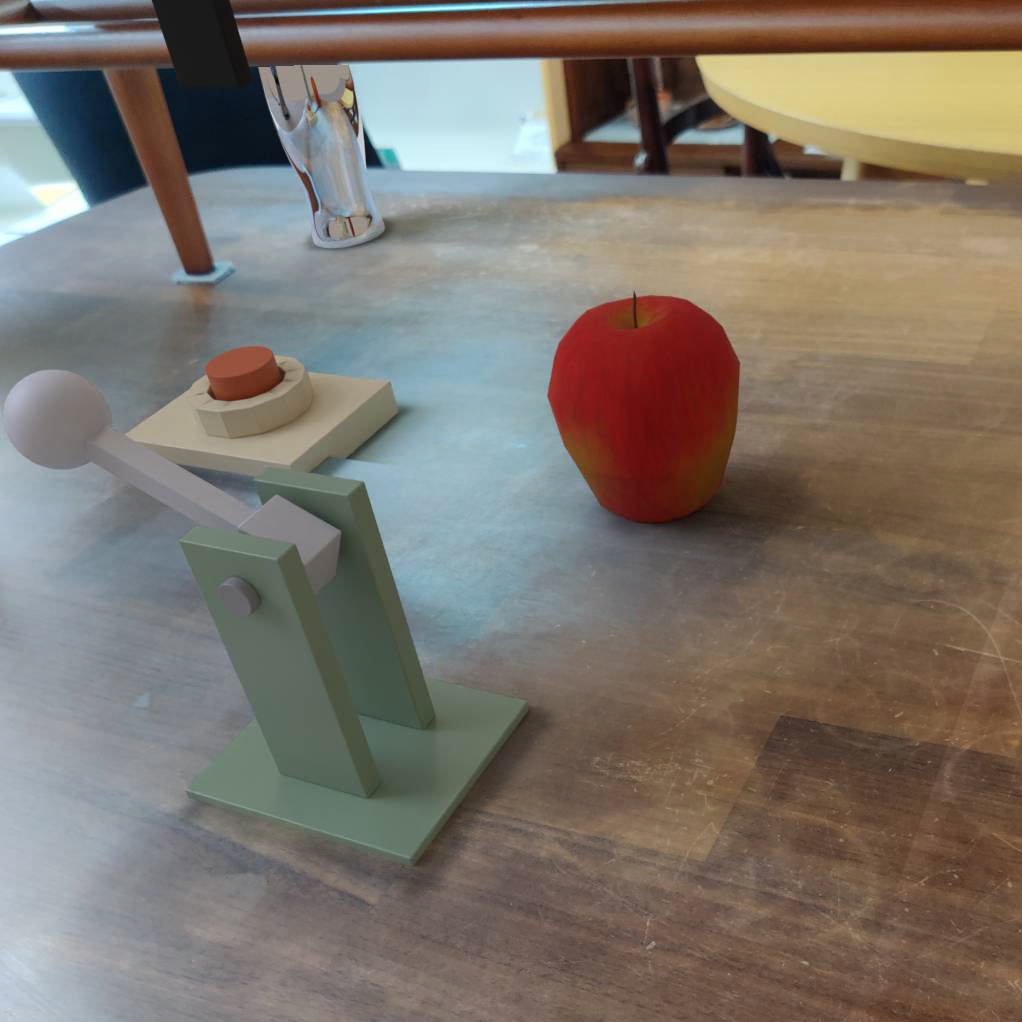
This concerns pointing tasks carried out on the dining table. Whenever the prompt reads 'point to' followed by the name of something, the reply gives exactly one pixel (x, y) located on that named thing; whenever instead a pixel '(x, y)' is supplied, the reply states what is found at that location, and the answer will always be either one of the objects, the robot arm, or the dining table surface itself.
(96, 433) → the tap lever
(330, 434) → the cream button base
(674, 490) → the apple
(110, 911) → the dining table surface
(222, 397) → the button
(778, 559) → the dining table surface
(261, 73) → the beer glass
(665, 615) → the dining table surface
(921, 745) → the dining table surface
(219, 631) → the bracket
